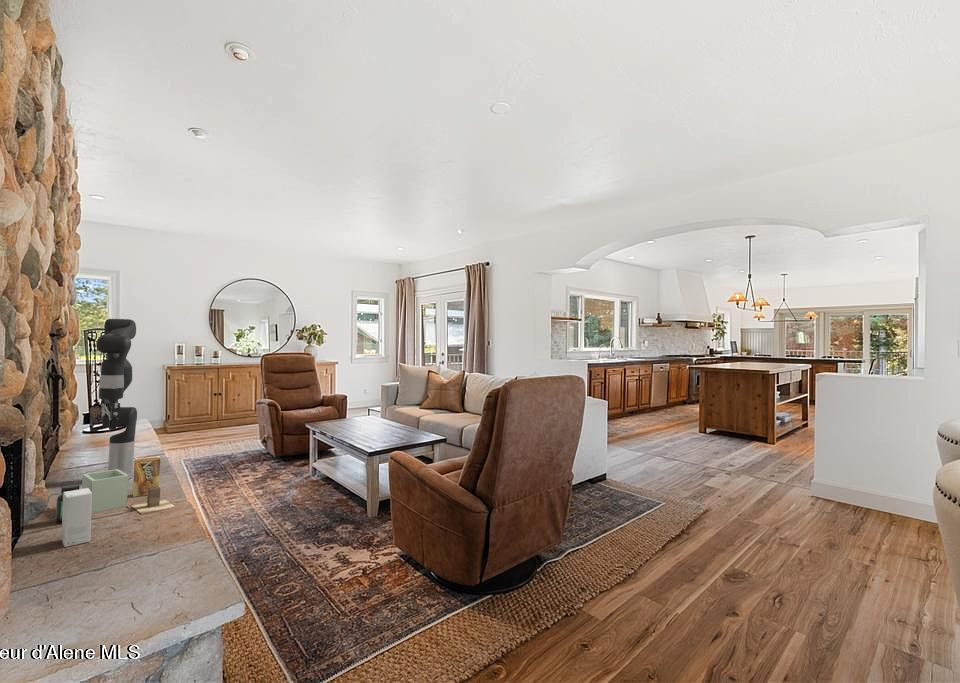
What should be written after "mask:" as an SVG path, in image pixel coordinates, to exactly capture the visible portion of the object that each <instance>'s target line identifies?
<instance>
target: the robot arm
mask: <svg viewBox="0 0 960 683" xmlns="http://www.w3.org/2000/svg"><path fill="white" fill-rule="evenodd" d="M103 331H104V334H102V335H100V336H99V337H98V338H97V340H96V343H95V344H96V345H95V347H96V350H97V351H98V352H100V353H102V354H106V359H105V360H103V361H101V365H100V366H101V367H100V377H99V384H98V399H99V400H101V401H100V402H101V403H100V405H101V406H100V415H101V418H102V423H101V426H102V427H103V428H105V427H106V428H107V427H108V430H110V431H111V430H116V429H117V428H125V429H124V431H122V432H120V433H115V434H112V435H110V436H109V446H108V459H107V460H108V461H107V462H108V463H107V471H109V470H116V469H119V470H120V471H122V472H124V473H125V474H127V475H129V478H128V480H129V479H132V478H133V476H134V460H135V458H134V456H135V455H134V454H135V441H136V440H135V439H136V430H137V429H136V426H137V420H138V411H137V410H138V409H137V408H136V407H134V406H123V407H122V406H121V402H119V400H122V399H124V393H125V391H126V390H127V389H128V388H129V387H130V385H131V383H132V382H133V366H132V364H131V362H130V361H129V360H128V359H127V357H128V354H129V352H130V350H131V347H132V341H131V340H132V339H134V338H135V337H136V334H137V324H136V322H135V321H134V320H133V319H129V318H107V319H106V320H105V321H104V329H103Z"/></svg>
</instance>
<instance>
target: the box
mask: <svg viewBox="0 0 960 683" xmlns="http://www.w3.org/2000/svg"><path fill="white" fill-rule="evenodd" d="M128 478H129V475H127V474H125V473H124V472H122V471H120V470H119V469H116V470H109V471H108V470H103V471H96V472H88V473H83V474H82V483H81V484H82V485H81V489H85V488H89V490H90V491H91V493H92V504H91V514H94V513H100V512H101V513H102V512H105V511H111V510H115V509H120V508H125V507H127V505H128V494H129V479H128Z"/></svg>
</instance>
